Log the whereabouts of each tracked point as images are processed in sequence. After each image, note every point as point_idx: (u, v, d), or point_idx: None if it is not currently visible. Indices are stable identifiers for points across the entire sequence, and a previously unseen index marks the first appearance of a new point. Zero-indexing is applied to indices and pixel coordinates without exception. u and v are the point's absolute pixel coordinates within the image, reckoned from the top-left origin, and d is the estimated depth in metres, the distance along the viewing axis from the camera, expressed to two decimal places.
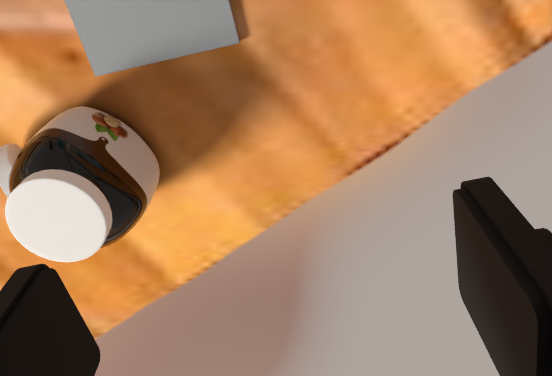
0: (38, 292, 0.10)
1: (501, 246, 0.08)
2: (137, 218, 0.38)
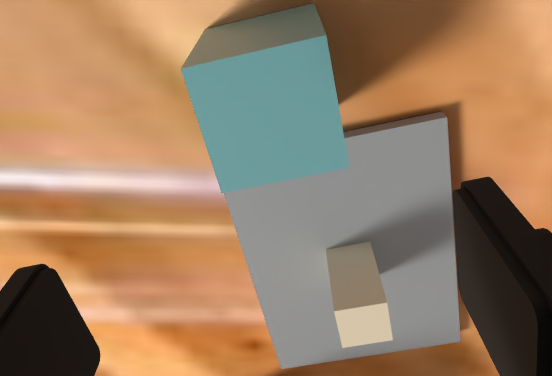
0: (38, 292, 0.10)
1: (501, 246, 0.08)
2: None
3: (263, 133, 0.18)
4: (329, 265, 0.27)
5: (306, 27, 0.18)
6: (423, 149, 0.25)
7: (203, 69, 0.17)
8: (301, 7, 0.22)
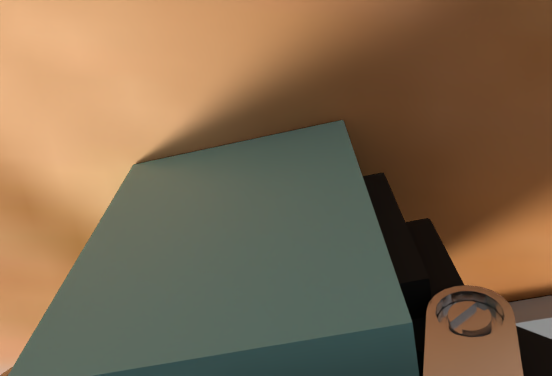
0: None
1: None
2: None
3: None
4: None
5: (341, 238, 0.07)
6: None
7: None
8: (319, 130, 0.11)
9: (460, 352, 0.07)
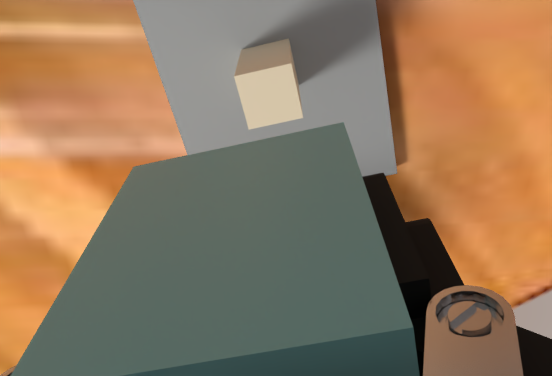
0: None
1: None
2: None
3: None
4: (241, 56, 0.25)
5: (342, 241, 0.07)
6: None
7: None
8: (319, 133, 0.11)
9: (460, 352, 0.07)
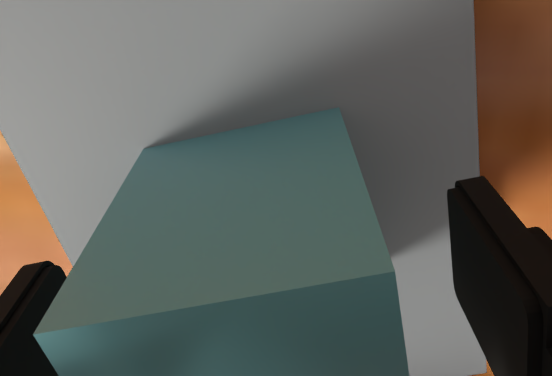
0: (44, 289, 0.10)
1: (493, 244, 0.08)
2: None
3: None
4: None
5: (335, 206, 0.08)
6: None
7: (89, 335, 0.07)
8: (316, 116, 0.12)
9: None
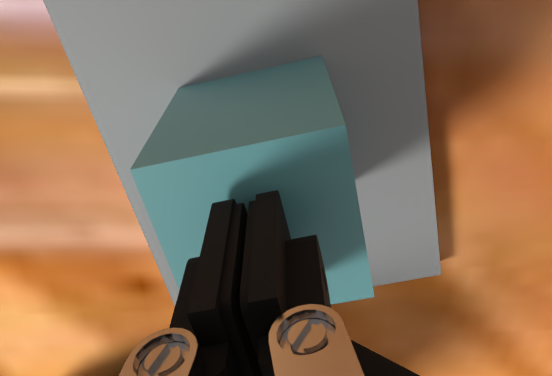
0: (241, 222, 0.11)
1: (249, 250, 0.10)
2: None
3: None
4: None
5: (314, 103, 0.13)
6: None
7: (163, 170, 0.12)
8: (305, 62, 0.17)
9: (307, 371, 0.07)
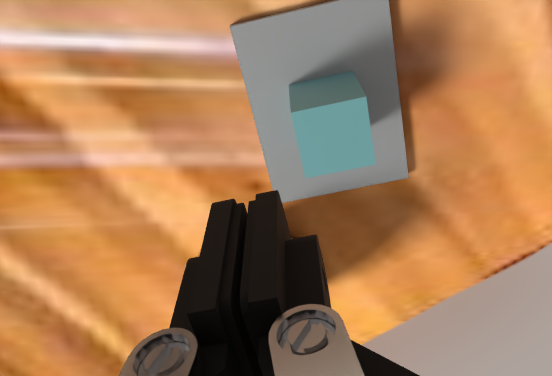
0: (241, 222, 0.11)
1: (249, 250, 0.10)
2: None
3: (330, 145, 0.35)
4: None
5: (353, 90, 0.35)
6: (372, 14, 0.37)
7: (302, 113, 0.33)
8: (345, 73, 0.38)
9: (307, 370, 0.07)
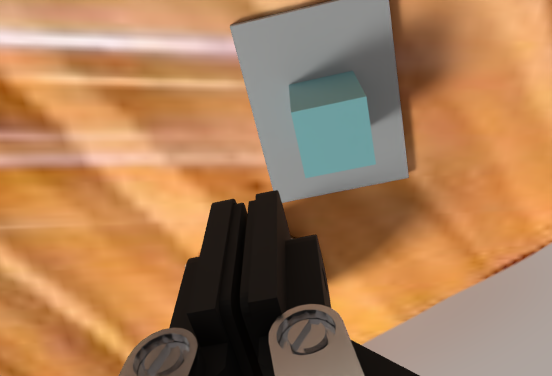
0: (242, 222, 0.11)
1: (249, 250, 0.10)
2: None
3: (330, 145, 0.35)
4: None
5: (353, 89, 0.35)
6: (372, 14, 0.37)
7: (302, 112, 0.33)
8: (345, 73, 0.38)
9: (307, 370, 0.07)
